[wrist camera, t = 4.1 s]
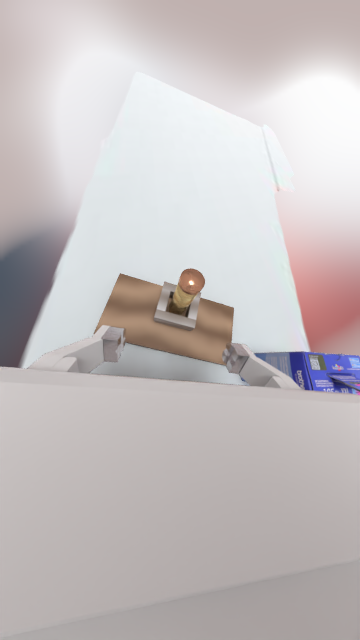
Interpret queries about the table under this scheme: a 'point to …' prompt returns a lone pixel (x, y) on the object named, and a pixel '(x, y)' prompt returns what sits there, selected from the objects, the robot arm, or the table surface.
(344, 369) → the ink cartridge box
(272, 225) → the table surface
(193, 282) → the brass copper-topped peg
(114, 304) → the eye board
